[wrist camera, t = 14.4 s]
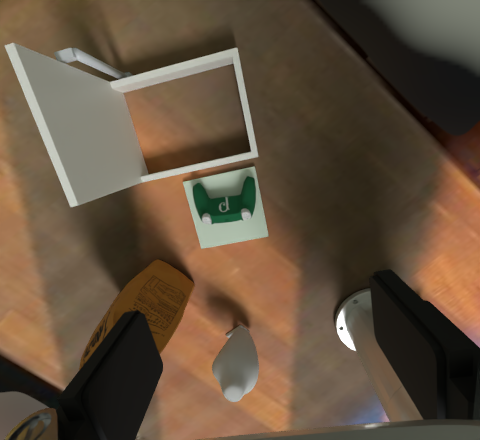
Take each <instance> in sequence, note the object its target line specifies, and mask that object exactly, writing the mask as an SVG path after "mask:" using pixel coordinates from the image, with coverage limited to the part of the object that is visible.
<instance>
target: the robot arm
mask: <svg viewBox="0 0 480 440" xmlns="http://www.w3.org/2000/svg"><path fill="white" fill-rule="evenodd" d="M369 281H370V288H368V289H364V290H361V291H358V292H356V293H354V294H352V295H351V296H349V297H348V298H347V299H346V300H345V301H344V302H343V303H342V304H341V305H340V307H339V309H338V311H337V313H336V317H335V328H336V331H337V333H338V335H339V337H340V339H341V340H342V342H343V343H344V344H345V345H346V346H348V347H349V348H351V349H353V350H355V351H356V352H357V354H358V356H359V358H360V360H361V362H362V365H363V367H364V369H365V371H366V373H367V375H368V377H369V379H370V381H371V383H372V385H373V387H374V390H375V392H376V394H377V396H378V398H379V400H380V402H381V404H382V406H383V408H384V410H385V413H386V415H387V417H388V419H389V421H390V422H383V423H369V424H357V425H346V426H335V427H324V428H313V429H301V430H290V431H279V432H269V433H259V434H248V435H238V436H228V437H218V438H207V439H197V440H480V348H479V347H478V346H477V345H476V344H475V343H474V342H473V341H472V340H470V339H469V338H468V337H467V336H466V335H465V334H464V333H463V332H462V331H461V330H460V329H459V328H457V327H456V326H455V325H454V324H453V323H452V322H451V321H450V320H449V319H448V318H447V317H446V316H444V315H443V314H442V313H441V312H440V311H439V310H438V309H437V308H436V307H435V306H434V305H433V304H431V303H430V302H429V301H424V300H423V299H421V298H420V297H419V296H418V295H417V294H416V293H415V292H414V291H413V290H412V289H411V288H410V287H409V286H408V285H407V284H406V283H405V282H404V281H402V280H401V279H400V278H399V277H398V276H397V275H396V274H395V273H394V272H393V271H392V270H383V271H377V272H374V276H370V278H369ZM162 371H163V362H162V360H161V357H160V354H159V351H158V349H157V346H156V343H155V341H154V338H153V335H152V333H151V330H150V327H149V325H148V322H147V319H146V316H145V314H144V313H141V312H140V311H139V310H135V311H129V312H125V313H123V314H122V316H121V317H120V318H119V320H118V321H117V322H116V324H115V325H114V326H113V327H112V329H111V330H110V331H109V333H108V334H107V335H106V337H105V338H104V339H103V340H102V342H101V343H100V344H99V346H98V347H97V348H96V350H95V351H94V352H93V353H92V355H91V356H90V357H89V359H88V360H87V361H86V363H85V364H84V365H83V366H82V368H81V369H80V370H79V372H78V373H77V374H76V376H75V377H74V378H73V379H72V381H71V382H70V383H69V385H68V386H67V387H66V389H65V390H64V391H63V393H62V394H61V395H60V396H59V398H58V399H57V400H58V402H59V404H60V406H59V407H58V409H57V410H55V409H53V408H45V409H42V410H39V411H37V412H35V413H33V414H31V415H30V416H28V417H27V418H25V419H24V420H22V421H21V422H20V423H19V424H18V425H17V426H16V427H14V428H13V429H12V430H11V432H10V433H9V434H8V435H7V436H6V438H5V439H4V440H135V438H136V436H137V433H138V431H139V428H140V426H141V423H142V421H143V418H144V416H145V413H146V411H147V408H148V406H149V403H150V401H151V399H152V396H153V394H154V391H155V389H156V386H157V384H158V381H159V379H160V376H161V374H162Z"/></svg>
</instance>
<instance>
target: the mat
mask: <svg viewBox="0 0 480 440" xmlns="http://www.w3.org/2000/svg"><path fill="white" fill-rule="evenodd" d="M247 176H249V177H253V178H254V179H255V185H256V204H255V209H254V212H253V215H252V217H251V218H250V219H248V220H243V221H242V220H239V221H234V222H227V223H214V224H204V223H203V222H202V221H201V219H200V217H199V215H198V212H197V210H196V207H195V203H194V198H193V186H194V185H195V184H197V183H201V185H202V186H203V187H204V188H205V190H206V192H207V194H208V196H209V198H211V199H213V198H219V197H227V196H235V195H240V194H241V192H242V187H243V183H244V181H245V179H246V177H247ZM183 184H184V188H185V192H186V195H187V199H188V202H189V206H190V210H191V213H192V217H193V220H194V224H195V227H196V231H197V235H198V238H199V242H200V245H201V249H203V248H208V247H214V246H219V245H225V244H230V243H235V242H241V241H246V240H252V239H257V238H262V237H268V236H269V235H268V230H267V225H266V220H265V215H264V210H263V205H262V200H261V195H260V190H259V185H258V180H257V175H256V170H255V166H253V167H249V168H244V169H240V170H235V171H231V172H226V173H221V174H217V175H212V176H208V177H203V178H198V179H194V180H189V181H185V182H183Z"/></svg>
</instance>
